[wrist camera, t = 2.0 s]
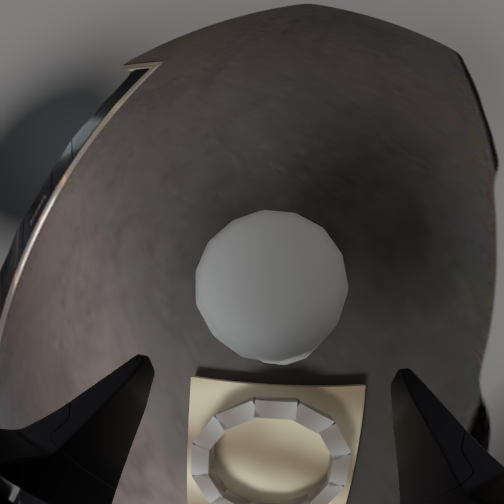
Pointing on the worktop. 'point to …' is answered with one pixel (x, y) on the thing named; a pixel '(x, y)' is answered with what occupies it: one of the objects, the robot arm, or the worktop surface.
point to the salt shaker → (271, 286)
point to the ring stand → (271, 442)
